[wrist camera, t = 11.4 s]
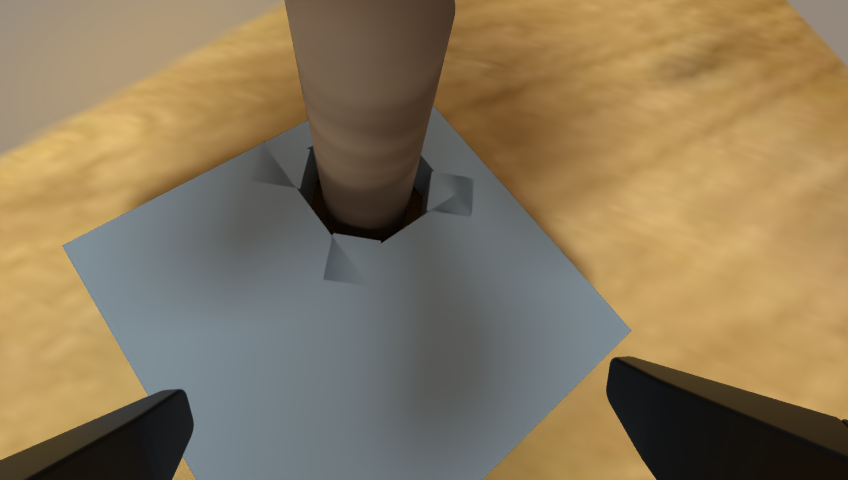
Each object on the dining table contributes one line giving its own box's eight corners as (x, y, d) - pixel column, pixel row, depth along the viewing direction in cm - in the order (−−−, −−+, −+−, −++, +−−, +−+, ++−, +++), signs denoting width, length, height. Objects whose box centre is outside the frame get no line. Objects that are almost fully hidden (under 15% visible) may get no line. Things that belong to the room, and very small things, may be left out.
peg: (372, 262, 20) (385, 93, 9) (309, 213, 20) (245, -7, 9) (421, 205, 21) (485, -1, 10) (361, 161, 22) (361, -84, 11)
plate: (311, 611, 15) (300, 661, 12) (107, 267, 18) (61, 244, 15) (593, 339, 20) (631, 330, 17) (397, 109, 23) (402, 70, 20)
